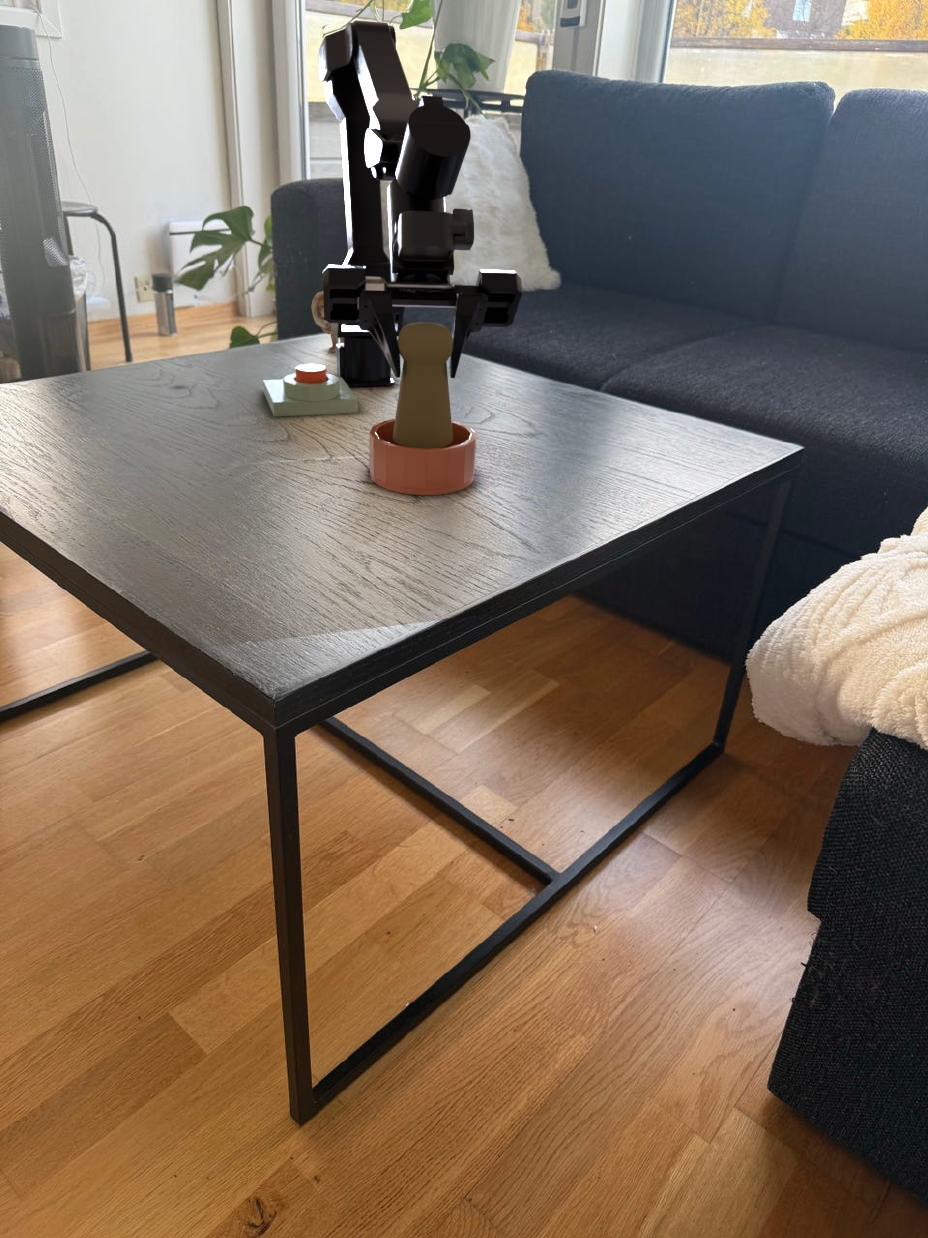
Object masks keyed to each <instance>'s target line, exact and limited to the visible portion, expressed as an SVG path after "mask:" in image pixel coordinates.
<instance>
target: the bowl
mask: <svg viewBox="0 0 928 1238" xmlns="http://www.w3.org/2000/svg"><path fill="white" fill-rule="evenodd" d="M451 421H452V432H453V442H452V443H451V444H449V445H447V446H445V447H440V448H431V449H424V448H411V447H406V446H403V445H400V444H398V443H396V442H395V441H394V440H393V439H392V438H393V431H394V424H395V418H392V419H387V420H383V421H381V422H378V423H376V424H374V425H372V427H371V429H370V430H369V433H368V437H369V438H368V440H369V441H368V446H369V447H368V448H369V449H368V451H369V455H368V456H369V458H368V459H369V471H370V473H369V474H370V479H371V481H372V482H373V483H375V485H377V486H379V487H381V488H383V489H386V490H388V491H391V492H395V493H400V494H405V495H413V496H440V495H446V494H447V495H448V494H452V493H456V492H459V491H462V490H464V489H466V488H468V487H469V486H470V485H471V484H473V481H474V478H475V477H474V475H475V469H476V452H477V450H476V449H477V433H476V431H475V430H474V429H473V428H471V427H470V426H468V425H466V424H463V423H461V422H458V421H455V420H451Z"/></svg>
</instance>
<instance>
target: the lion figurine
mask: <svg viewBox="0 0 928 1238" xmlns="http://www.w3.org/2000/svg"><path fill="white" fill-rule="evenodd" d="M310 307H311V308H310V309H311V312H312V318H313V321H314V323H315V324H316V325H317V326H318V327H319V328H320V329H321V330H322V332H323V333H325V334H326V335H330V339H331V345H332V346H330V347H328V352H330V353H336V345H337V343H339V338H337V337H336V336H335V335H334V333H333V332H332V331H331V323H329V322H327V321H325V320H324V299H323V290H322V291H319V292H317V293H316V294H315V295H314V297H313V298H312V302H311V306H310ZM342 325H345V323H342ZM397 341H398V339H397Z"/></svg>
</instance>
